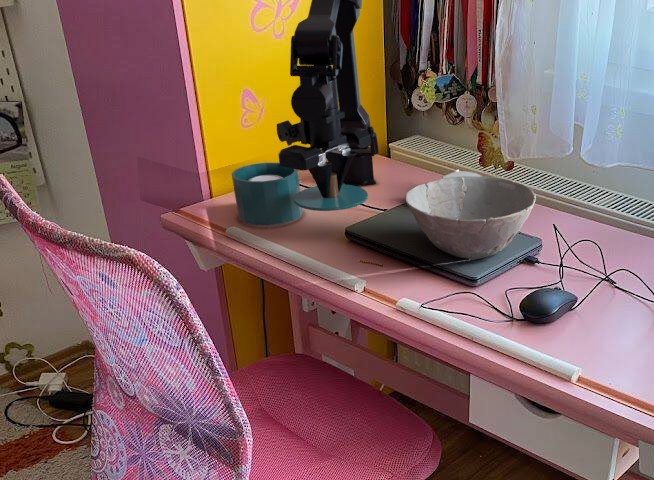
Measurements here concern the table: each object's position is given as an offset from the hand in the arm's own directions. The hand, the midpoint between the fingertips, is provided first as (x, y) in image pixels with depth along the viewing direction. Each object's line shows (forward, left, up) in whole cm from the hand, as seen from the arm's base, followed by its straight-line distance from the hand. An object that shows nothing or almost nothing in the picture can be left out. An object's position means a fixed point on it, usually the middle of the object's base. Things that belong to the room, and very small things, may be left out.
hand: (330, 194), depth 157 cm
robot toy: (-26, -8, -8) cm, 28 cm away
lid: (0, 0, -1) cm, 1 cm away
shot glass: (+10, -13, -7) cm, 18 cm away
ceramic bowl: (-21, +17, -8) cm, 28 cm away
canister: (+10, -13, -7) cm, 18 cm away
